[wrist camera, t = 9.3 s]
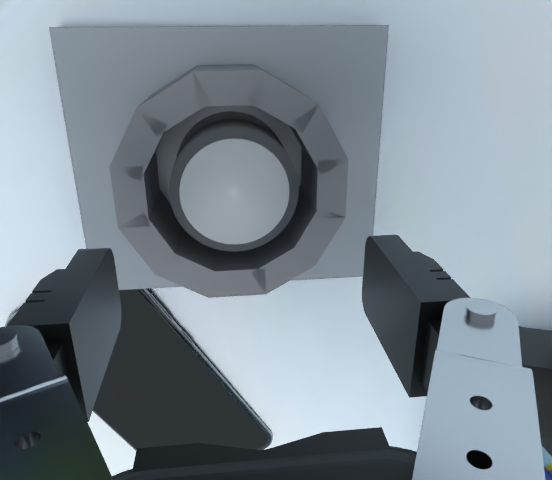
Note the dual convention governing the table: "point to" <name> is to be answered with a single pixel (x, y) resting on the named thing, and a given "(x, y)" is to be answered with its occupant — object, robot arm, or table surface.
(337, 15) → the table surface
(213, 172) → the cap
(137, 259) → the square flange plate
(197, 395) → the smartphone
